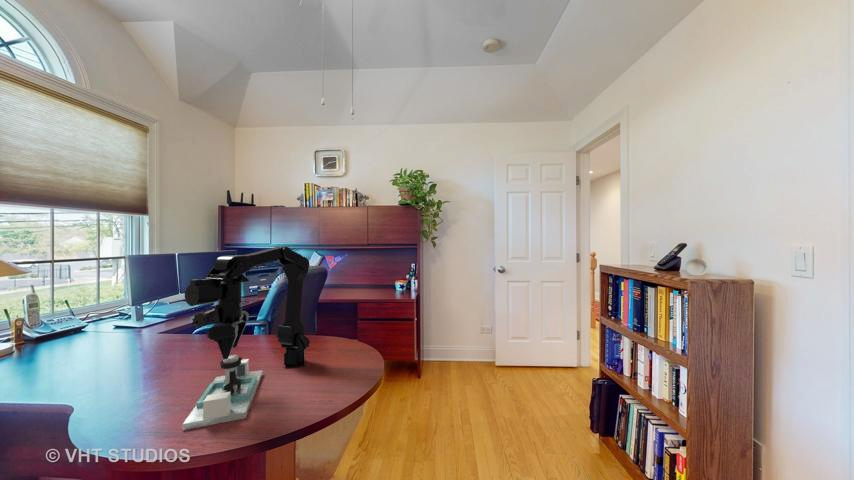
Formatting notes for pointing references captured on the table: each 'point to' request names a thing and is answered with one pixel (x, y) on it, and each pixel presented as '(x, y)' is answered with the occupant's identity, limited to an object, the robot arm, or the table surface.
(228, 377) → the push button
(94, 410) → the table surface
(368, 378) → the table surface
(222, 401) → the white padded clamp jaws
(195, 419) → the teal-edged white tray
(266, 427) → the table surface
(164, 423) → the table surface
